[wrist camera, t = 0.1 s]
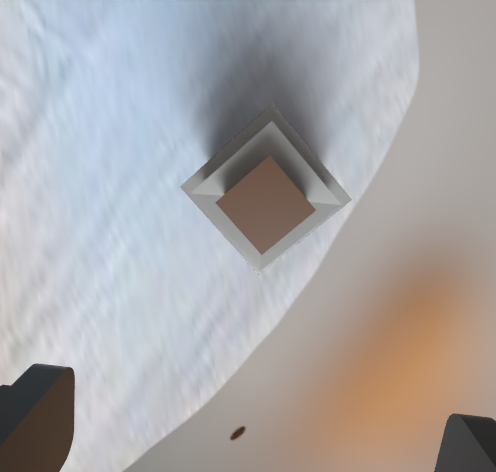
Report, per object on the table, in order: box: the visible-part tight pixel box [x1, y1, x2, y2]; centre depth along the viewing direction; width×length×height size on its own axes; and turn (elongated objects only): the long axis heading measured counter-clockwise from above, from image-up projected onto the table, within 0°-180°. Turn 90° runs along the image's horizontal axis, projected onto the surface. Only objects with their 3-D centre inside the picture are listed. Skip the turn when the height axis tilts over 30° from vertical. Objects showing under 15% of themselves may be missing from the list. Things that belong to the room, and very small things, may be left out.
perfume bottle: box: [180, 104, 352, 275], centre depth 28 cm, size 7×7×18 cm
